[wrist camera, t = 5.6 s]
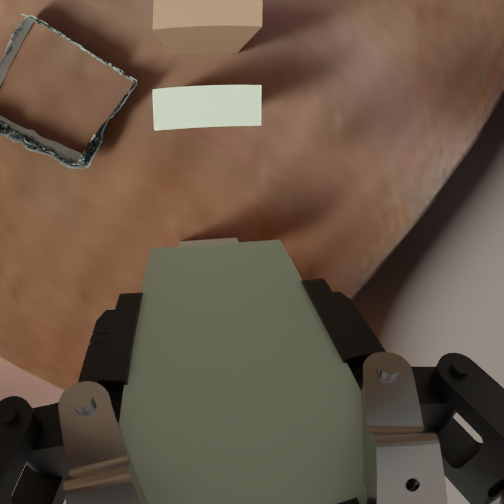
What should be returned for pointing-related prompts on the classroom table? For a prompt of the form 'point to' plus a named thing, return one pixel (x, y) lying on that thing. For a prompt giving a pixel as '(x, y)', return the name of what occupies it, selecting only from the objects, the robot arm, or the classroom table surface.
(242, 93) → the domino
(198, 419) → the domino
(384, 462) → the robot arm
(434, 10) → the classroom table surface
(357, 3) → the classroom table surface
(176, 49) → the domino end
